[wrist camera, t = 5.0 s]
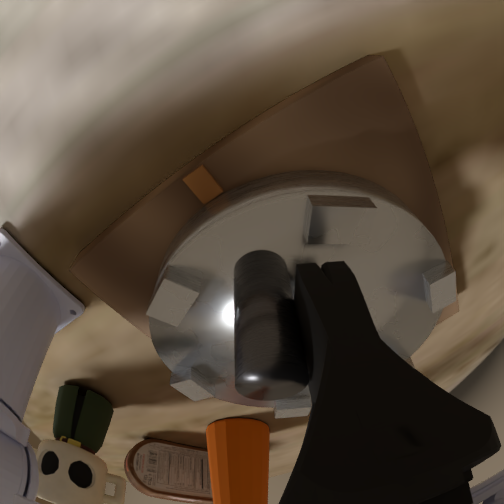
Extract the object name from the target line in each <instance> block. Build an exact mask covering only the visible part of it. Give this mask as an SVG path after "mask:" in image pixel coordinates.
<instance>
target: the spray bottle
mask: <svg viewBox="0 0 504 504" xmlns="http://www.w3.org/2000/svg"><path fill="white" fill-rule="evenodd" d="M269 435H270V430H269V426H268V425H267V424H265V423H263V422H262V421H258V420H254V419H248V418H229V419H223V420H218V421H215V422H213V423H211V424H210V425H208V427H207V429H206V438H207V449H208V460H209V470H210V479H211V488H212V497H213V504H268V474H269Z"/></svg>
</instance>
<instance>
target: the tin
mask: <svg viewBox="0 0 504 504" xmlns="http://www.w3.org/2000/svg"><path fill="white" fill-rule="evenodd" d="M124 469H125V473H126V476H127V478H128V480H129V481H130V483H131V484H132V485H133V486H134V487H135V488H136V489H137V490H138V491H140V492H141V493H143V494H145V495H147V496H150V497H155V498H160V499H167V500H173V501H179V502H186V503H193V504H213V497H212V488H211V479H210V470H209V460H208V449H204V448H198V447H193V446H188V445H183V444H178V443H173V442H169V441H165V440H160V439H147V440H143V441H141V442H139V443H137V444H136V445H135V446H134V447H133V448H132V449H131V450H130V451H129V452H128V454H127V456H126V458H125V462H124Z"/></svg>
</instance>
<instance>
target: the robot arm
mask: <svg viewBox="0 0 504 504" xmlns="http://www.w3.org/2000/svg"><path fill="white" fill-rule="evenodd" d="M294 303H295V308H296V313H297V318H298V323H299V327H300V332H301V337H302V342H303V347H304V352H305V357H306V362H307V368H308V373H309V383H308V387H309V392H310V396H311V401H312V408H311V413H310V417H309V422H308V426H307V430H306V434H305V437H304V441H303V445H302V448H301V450H300V453H299V456H298V458H297V461H296V464H295V466H294V469H293V471H292V474H291V476H290V479H289V481H288V483H287V486H286V488H285V490H284V493H283V495H282V497H281V500H280V502H279V504H479V503H480V502H482V501H483V504H504V469H503V470H502V471H500V472H499V473H497V474H495V475H493V476H492V477H490V478H488V479H487V480H485V481H483V482H481V483H479V484H477V485H475V486H473V487H472V488H470V487H469V483H468V482H469V481H471V480H472V478H473V475H472V471H471V468H473V467H474V466H476V465H478V464H480V463H481V462H483V461H484V460H486V459H487V458H489V457H491V456H492V455H494V454H495V453H496V452H498V451H499V450H500V447H501V443H500V441H499V438H498V435H497V432H496V429H495V427H494V424H493V422H492V420H491V418H490V416H488V415H486V414H484V413H483V412H481V411H479V410H477V409H475V408H473V407H472V406H470V405H468V404H466V403H464V402H462V401H461V400H459V399H457V398H456V397H454V396H453V395H451V394H449V393H448V392H446V391H445V390H443V389H442V388H440V387H439V386H437V385H436V384H435V383H433V382H432V381H431V380H429V379H428V378H427V377H425V376H424V375H423V374H421V373H420V372H419V371H417V370H416V369H415V368H413V367H412V366H411V365H409V364H408V363H407V362H406V361H405V360H404V359H402V358H401V357H400V356H399V355H398V354H397V353H396V352H394V351H393V350H392V349H391V348H390V347H389V346H388V345H387V344H386V343H385V342H384V341H383V340H382V339H381V338H380V336H379V334H378V332H377V330H376V327H375V325H374V323H373V320H372V317H371V314H370V312H369V309H368V307H367V304H366V301H365V299H364V296H363V294H362V291H361V289H360V286H359V284H358V282H357V279H356V277H355V275H354V273H353V272H352V270H351V269H350V268H349V266H348V265H347V264H346V263H345V262H344V261H334V262H325V263H324V264H322V265H321V268H320V267H319V265H317V264H316V263H304V264H296V272H295V290H294ZM84 310H85V307H84V305H83V304H82V303H81V302H80V301H79V300H78V299H76V298H75V297H74V296H73V295H72V294H71V293H69V292H68V291H67V290H66V289H65V288H64V287H63V286H61V285H60V284H59V283H58V282H57V281H56V280H55V279H54V278H53V277H52V276H50V275H49V274H48V273H47V272H46V271H45V270H44V269H43V268H42V267H41V266H40V265H39V264H38V263H37V262H36V261H35V260H34V259H33V258H32V257H31V256H30V255H29V254H28V253H27V252H26V251H25V250H24V249H23V248H22V247H21V246H20V245H19V244H18V243H17V242H16V241H15V240H14V239H13V238H12V237H11V236H10V235H9V234H8V233H7V231H5V230H4V229H2V228H1V229H0V504H40V503H37V502H35V499H36V496H37V492H38V487H39V471H38V463H37V459H36V455H35V452H34V450H33V448H32V446H31V445H30V443H29V442H28V437H29V434H30V429H28V428H27V427H25V426H24V425H23V424H22V420H23V417H24V414H25V411H26V407H27V404H28V401H29V398H30V395H31V393H32V390H33V387H34V384H35V381H36V379H37V376H38V373H39V371H40V368H41V365H42V363H43V360H44V358H45V355H46V353H47V350H48V348H49V346H50V343H51V341H52V339H53V336H54V334H56V333H57V332H58V331H60V330H61V329H62V328H64V327H65V326H66V325H68V324H69V323H71V322H72V321H73V320H75V319H76V318H77V317H79V316H80V315H82V314H83V312H84Z"/></svg>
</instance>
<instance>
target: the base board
mask: <svg viewBox="0 0 504 504" xmlns="http://www.w3.org/2000/svg"><path fill="white" fill-rule="evenodd" d="M297 170H326V171H335V172H343V173H347V174H351V175H354V176H358V177H362V178H365V179H367V180H369V181H372V182H374V183H376V184H378V185H380V186H382V187H384V188H385V189H387V190H388V191H390V192H391V193H393V194H394V195H396V196H397V197H398V198H399V199H400V200H401V201H402V202H403V203H404V204H405V205H406V206H407V207H408V208H409V209H410V210H411V211H412V212H413V213H414V214H415V215H416V217H417V218H418V219H419V220H420V221H421V222H422V223H423V225H424V226H425V227H426V228H427V229H428V230H429V231H430V233H431V234H432V235H433V236H434V238H435V239H436V241H437V243H438V244H439V246H440V248H441V249H442V252H443V255H444V257H445V260H448V262H449V263H450V264H451V266H452V267H453V262H452V256H451V251H450V246H449V241H448V236H447V231H446V227H445V222H444V218H443V214H442V210H441V206H440V202H439V198H438V195H437V191H436V187H435V184H434V181H433V177H432V174H431V171H430V167H429V164H428V161H427V158H426V155H425V152H424V149H423V146H422V144H421V141H420V138H419V135H418V133H417V130H416V127H415V125H414V122H413V120H412V117H411V115H410V112H409V110H408V108H407V105H406V103H405V101H404V98H403V96H402V94H401V91H400V89H399V87H398V85H397V83H396V81H395V79H394V76H393V74H392V72H391V70H390V68H389V66H388V64H387V62H386V60H385V58H384V57H383V56H377V55H367V56H365V57H363V58H361V59H359V60H357V61H355V62H353V63H351V64H349V65H347V66H345V67H343V68H341V69H339V70H337V71H335V72H333V73H331V74H329V75H328V76H326V77H324V78H322V79H320V80H318V81H316V82H315V83H313V84H311V85H309V86H307V87H306V88H304V89H302V90H300V91H299V92H297V93H295V94H293V95H292V96H290V97H288V98H286V99H285V100H283V101H281V102H280V103H278V104H276V105H275V106H273V107H271V108H270V109H268V110H267V111H265V112H263V113H262V114H260V115H258V116H257V117H255V118H254V119H252V120H251V121H249V122H247V123H246V124H244V125H243V126H241V127H240V128H238V129H237V130H235V131H234V132H232V133H231V134H229V135H228V136H226V137H225V138H223V139H222V140H220V141H219V142H217V143H216V144H215V145H213V146H212V147H210V148H209V149H207V150H206V151H204V152H203V153H202V154H200V155H199V156H197V157H196V158H195V159H193V160H192V161H191V162H189V163H188V164H186V165H185V166H184V167H182V168H181V169H180V170H178V171H177V172H176V173H174V174H173V175H172V176H170V177H169V178H168V179H166V180H165V181H164V182H163V183H161V184H160V185H159V186H157V187H156V188H155V189H154V190H152V191H151V192H150V193H149V194H147V195H146V196H145V197H144V198H142V199H141V200H140V201H139V202H137V203H136V204H135V205H134V206H133V207H131V208H130V209H129V210H128V211H127V212H125V213H124V214H123V215H122V216H121V217H119V218H118V219H117V220H116V221H115V222H114V223H112V224H111V225H110V226H109V227H108V228H107V229H106V230H104V231H103V232H102V233H101V234H100V235H99V236H98V237H97V238H95V239H94V240H93V241H92V242H91V243H90V244H89V245H88V246H87V247H86V248H84V249H83V250H82V251H81V252H80V253H79V254H78V256H77V257H76V259H75V261H74V262H73V264H72V266H71V267H70V269H69V271H70V272H71V273H72V274H73V275H74V276H75V277H76V278H78V279H79V280H80V281H81V282H82V283H83V284H84V285H85V286H87V287H88V288H89V289H90V290H91V291H92V292H93V293H95V294H96V295H97V296H98V297H99V298H100V299H102V300H103V301H104V302H105V303H106V304H108V305H109V306H110V307H111V308H112V309H114V310H115V311H116V312H117V313H119V314H120V315H121V316H122V317H124V318H125V319H126V320H127V321H129V322H130V323H131V324H133V325H134V326H135V327H136V328H138V329H139V330H140V331H142V332H143V333H144V334H146V335H147V336H148V337H150V338H151V334H150V330H149V316H148V315H146V311H147V307H148V304H149V300H150V298H151V296H152V294H153V292H154V289H155V285H156V281H157V278H158V274H159V271H160V267H161V264H162V261H163V259H164V256H165V254H166V252H167V249H168V247H169V246H170V244H171V243H172V241H173V239H174V238H175V236H176V235H177V233H178V232H179V231H180V230H181V228H182V227H183V226H184V225H185V224H186V223H187V222H188V220H189V219H190V218H191V217H192V216H193V215H195V214H196V213H197V212H198V211H199V210H201V209H202V208H203V207H204V206H205V205H207V204H208V203H209V202H211V201H213V200H214V199H216V198H217V197H219V196H221V195H222V194H224V193H225V192H227V191H229V190H231V189H234V188H236V187H238V186H240V185H242V184H245V183H247V182H249V181H252V180H256V179H259V178H262V177H266V176H269V175H273V174H278V173H284V172H291V171H297ZM457 312H459V305H458V296H457V288H456V301H455V302H453V303H451V304H450V305H448V306H446V307H444V308H443V310H442V313H441V315H440V317H439V319H438V321H437V323H436V325H437V324H439V323H441V322H442V321H444V320H446V319H447V318H449V317H451V316H452V315H454V314H455V313H457ZM151 339H152V338H151Z"/></svg>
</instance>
